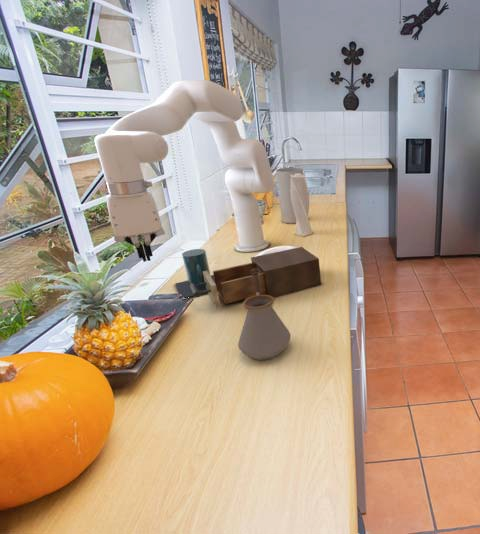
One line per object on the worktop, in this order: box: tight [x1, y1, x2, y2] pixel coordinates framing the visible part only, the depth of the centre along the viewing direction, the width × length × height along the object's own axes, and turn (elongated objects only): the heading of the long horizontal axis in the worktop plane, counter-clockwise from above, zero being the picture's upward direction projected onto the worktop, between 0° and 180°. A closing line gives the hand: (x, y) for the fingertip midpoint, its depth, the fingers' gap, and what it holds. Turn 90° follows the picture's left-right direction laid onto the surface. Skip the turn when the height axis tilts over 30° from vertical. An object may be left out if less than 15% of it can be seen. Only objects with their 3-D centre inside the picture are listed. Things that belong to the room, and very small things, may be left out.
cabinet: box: [250, 246, 322, 298], centre depth 122 cm, size 17×14×9 cm
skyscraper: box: [291, 169, 314, 237], centre depth 167 cm, size 8×8×28 cm
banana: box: [254, 245, 299, 257], centre depth 140 cm, size 5×19×15 cm
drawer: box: [190, 262, 267, 310], centre depth 113 cm, size 20×13×7 cm, turn 125°
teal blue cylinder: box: [181, 248, 211, 289], centre depth 119 cm, size 8×6×11 cm
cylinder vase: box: [275, 167, 304, 225], centre depth 188 cm, size 12×12×25 cm
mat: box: [175, 274, 215, 299], centre depth 122 cm, size 13×13×1 cm
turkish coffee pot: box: [237, 268, 292, 361], centre depth 91 cm, size 21×12×15 cm, turn 21°
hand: (146, 259), depth 99 cm, fingers closed
